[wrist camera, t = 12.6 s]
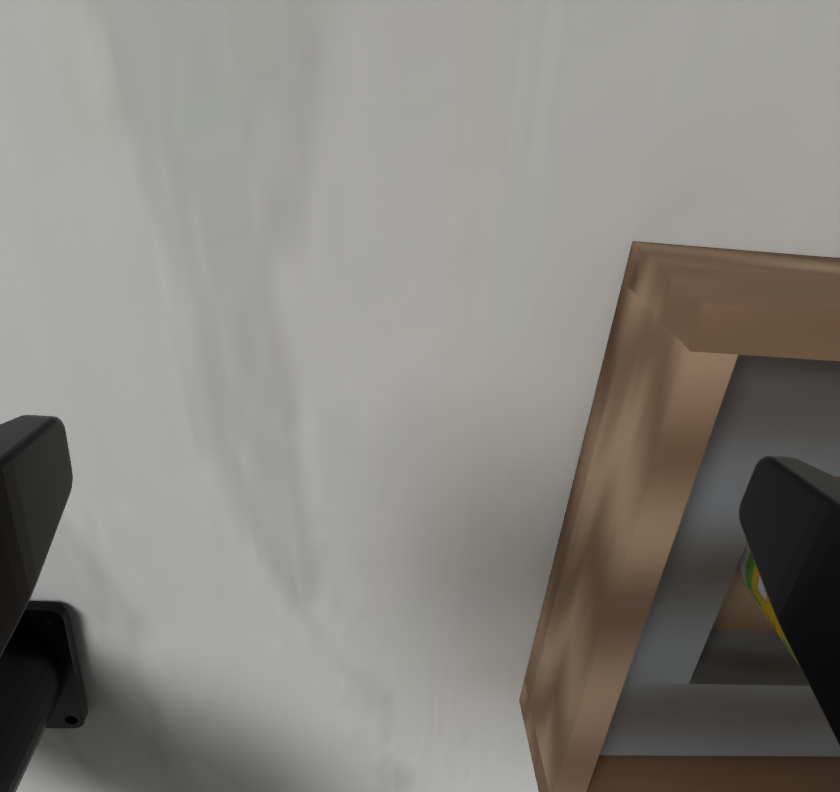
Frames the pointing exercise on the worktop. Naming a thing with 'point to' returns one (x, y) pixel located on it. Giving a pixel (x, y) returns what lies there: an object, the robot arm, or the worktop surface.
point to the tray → (651, 500)
